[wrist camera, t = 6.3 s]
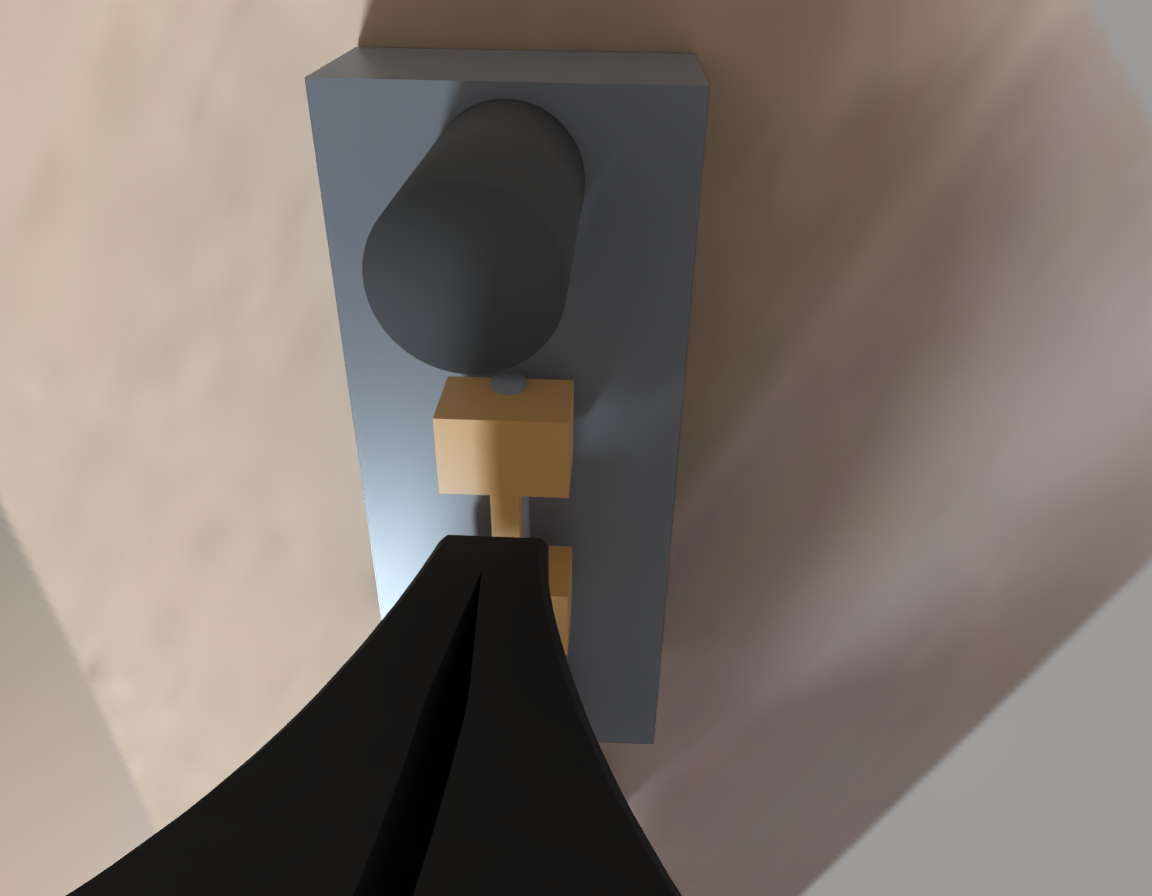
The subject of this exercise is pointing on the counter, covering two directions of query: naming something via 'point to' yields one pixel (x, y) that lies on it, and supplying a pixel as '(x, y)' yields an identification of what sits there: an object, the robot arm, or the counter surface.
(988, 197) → the counter surface
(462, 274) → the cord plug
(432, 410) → the grey base plate
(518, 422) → the tan wooden dumbbell piece
